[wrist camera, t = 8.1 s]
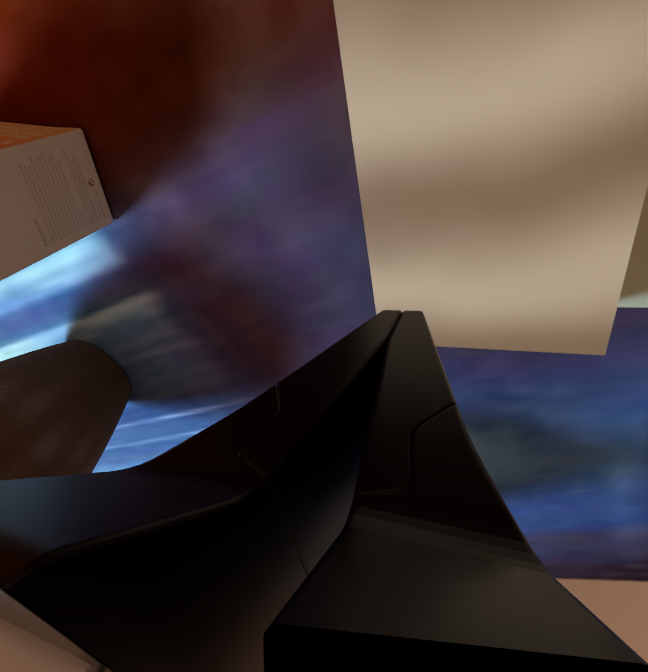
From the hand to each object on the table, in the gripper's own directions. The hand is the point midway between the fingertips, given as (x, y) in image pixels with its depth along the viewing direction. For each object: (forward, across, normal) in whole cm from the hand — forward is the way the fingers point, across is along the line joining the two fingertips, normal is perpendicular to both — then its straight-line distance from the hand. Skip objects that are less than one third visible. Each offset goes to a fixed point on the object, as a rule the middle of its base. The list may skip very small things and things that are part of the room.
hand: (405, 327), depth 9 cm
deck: (+12, -1, 0) cm, 12 cm away
